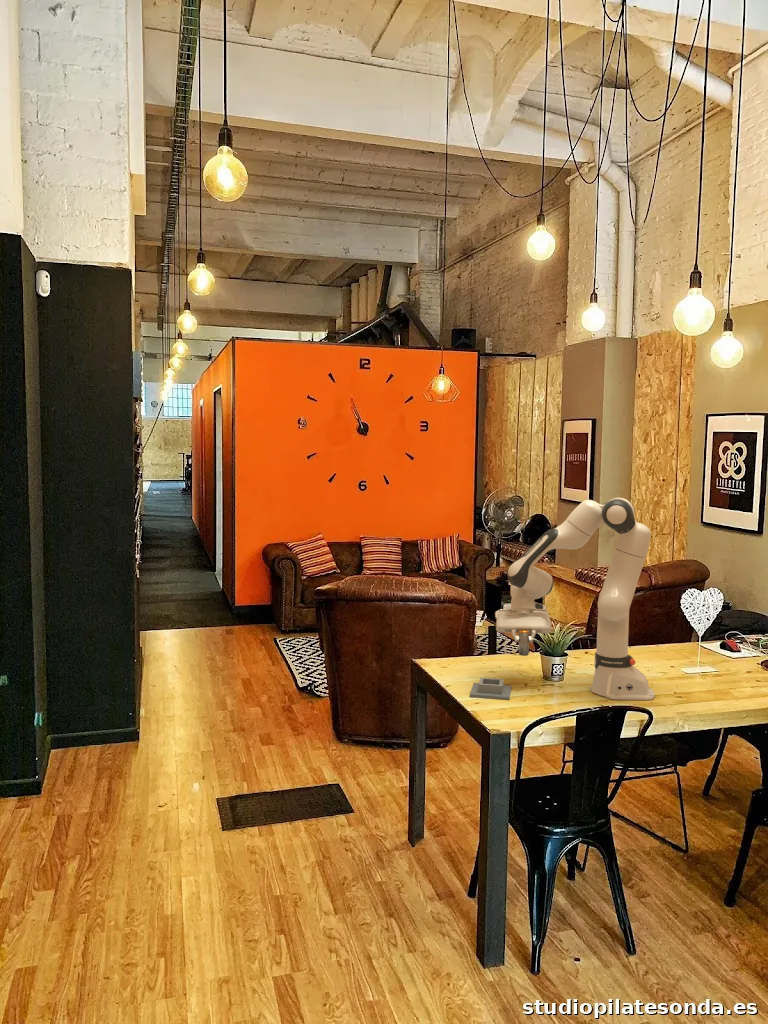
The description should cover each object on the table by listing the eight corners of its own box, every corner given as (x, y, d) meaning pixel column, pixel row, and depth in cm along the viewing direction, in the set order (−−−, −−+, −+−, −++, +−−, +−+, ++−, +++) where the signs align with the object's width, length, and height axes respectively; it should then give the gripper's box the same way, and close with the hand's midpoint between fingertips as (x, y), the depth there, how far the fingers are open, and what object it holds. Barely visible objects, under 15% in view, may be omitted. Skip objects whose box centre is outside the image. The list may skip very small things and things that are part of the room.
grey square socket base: (511, 687, 289) (511, 677, 288) (509, 700, 275) (509, 689, 275) (473, 685, 292) (473, 674, 291) (469, 697, 278) (470, 686, 278)
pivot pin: (528, 653, 287) (529, 629, 286) (528, 656, 283) (528, 631, 283) (518, 652, 288) (519, 629, 287) (518, 655, 284) (518, 631, 283)
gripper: (495, 604, 292) (495, 636, 283) (550, 605, 290) (552, 637, 281) (494, 613, 297) (495, 645, 288) (549, 614, 294) (551, 646, 286)
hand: (523, 641), depth 284 cm, fingers closed on pivot pin, 4 cm apart
